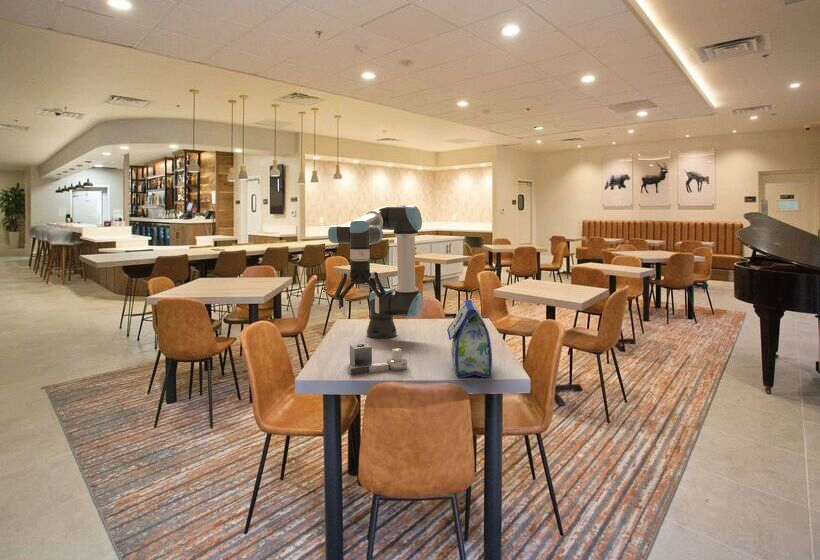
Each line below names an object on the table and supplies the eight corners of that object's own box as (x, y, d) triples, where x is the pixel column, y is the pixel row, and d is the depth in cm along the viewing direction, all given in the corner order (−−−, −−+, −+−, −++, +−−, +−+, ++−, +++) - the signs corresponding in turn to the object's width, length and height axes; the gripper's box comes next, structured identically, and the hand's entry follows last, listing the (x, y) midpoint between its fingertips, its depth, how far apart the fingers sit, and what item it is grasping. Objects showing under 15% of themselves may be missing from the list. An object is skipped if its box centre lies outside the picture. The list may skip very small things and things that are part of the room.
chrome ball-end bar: (347, 370, 183) (346, 351, 182) (402, 364, 192) (402, 345, 191) (352, 377, 176) (352, 357, 175) (410, 369, 185) (410, 350, 184)
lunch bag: (446, 361, 196) (447, 298, 193) (487, 362, 195) (488, 298, 192) (449, 379, 174) (450, 308, 171) (495, 379, 173) (496, 308, 170)
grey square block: (349, 363, 193) (349, 343, 192) (366, 362, 195) (366, 342, 194) (354, 368, 186) (354, 348, 185) (371, 366, 189) (371, 346, 188)
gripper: (330, 261, 177) (331, 318, 180) (393, 259, 187) (393, 313, 190) (326, 260, 184) (327, 314, 187) (386, 258, 194) (387, 310, 196)
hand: (360, 314), depth 188 cm, fingers open, 13 cm apart
